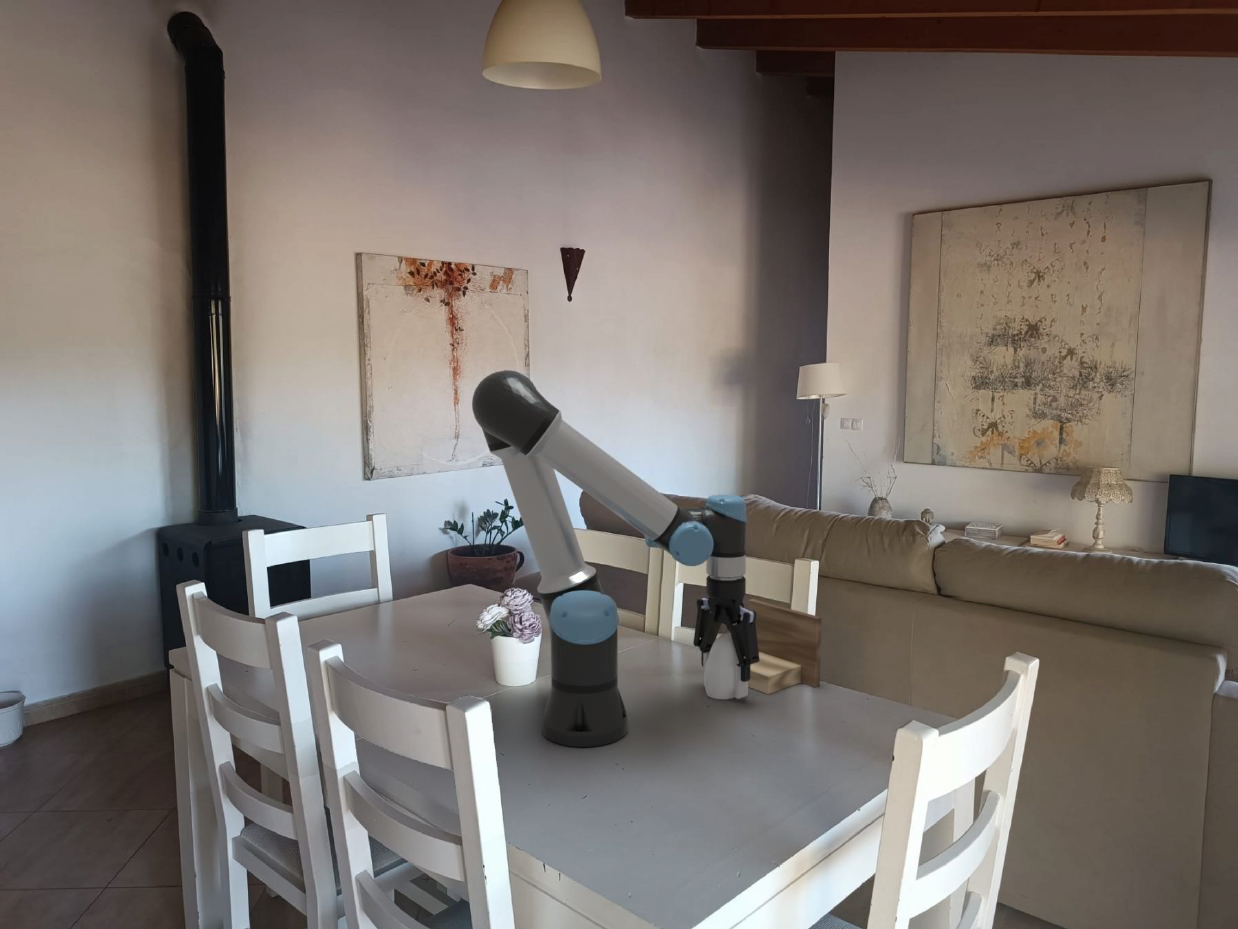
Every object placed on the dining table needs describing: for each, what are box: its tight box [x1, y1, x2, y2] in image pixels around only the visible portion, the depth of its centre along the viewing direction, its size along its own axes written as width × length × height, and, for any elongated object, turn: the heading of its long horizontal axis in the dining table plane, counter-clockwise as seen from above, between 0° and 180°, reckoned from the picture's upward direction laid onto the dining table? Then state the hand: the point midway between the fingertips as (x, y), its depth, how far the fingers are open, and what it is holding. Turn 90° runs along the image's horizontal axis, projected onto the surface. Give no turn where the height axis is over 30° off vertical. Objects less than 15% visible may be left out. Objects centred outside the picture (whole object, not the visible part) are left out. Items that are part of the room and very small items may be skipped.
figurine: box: [704, 632, 739, 700], centre depth 167 cm, size 7×8×12 cm
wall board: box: [744, 598, 822, 695], centre depth 175 cm, size 12×18×14 cm, turn 39°
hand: (725, 690), depth 167 cm, fingers closed on figurine, 8 cm apart
